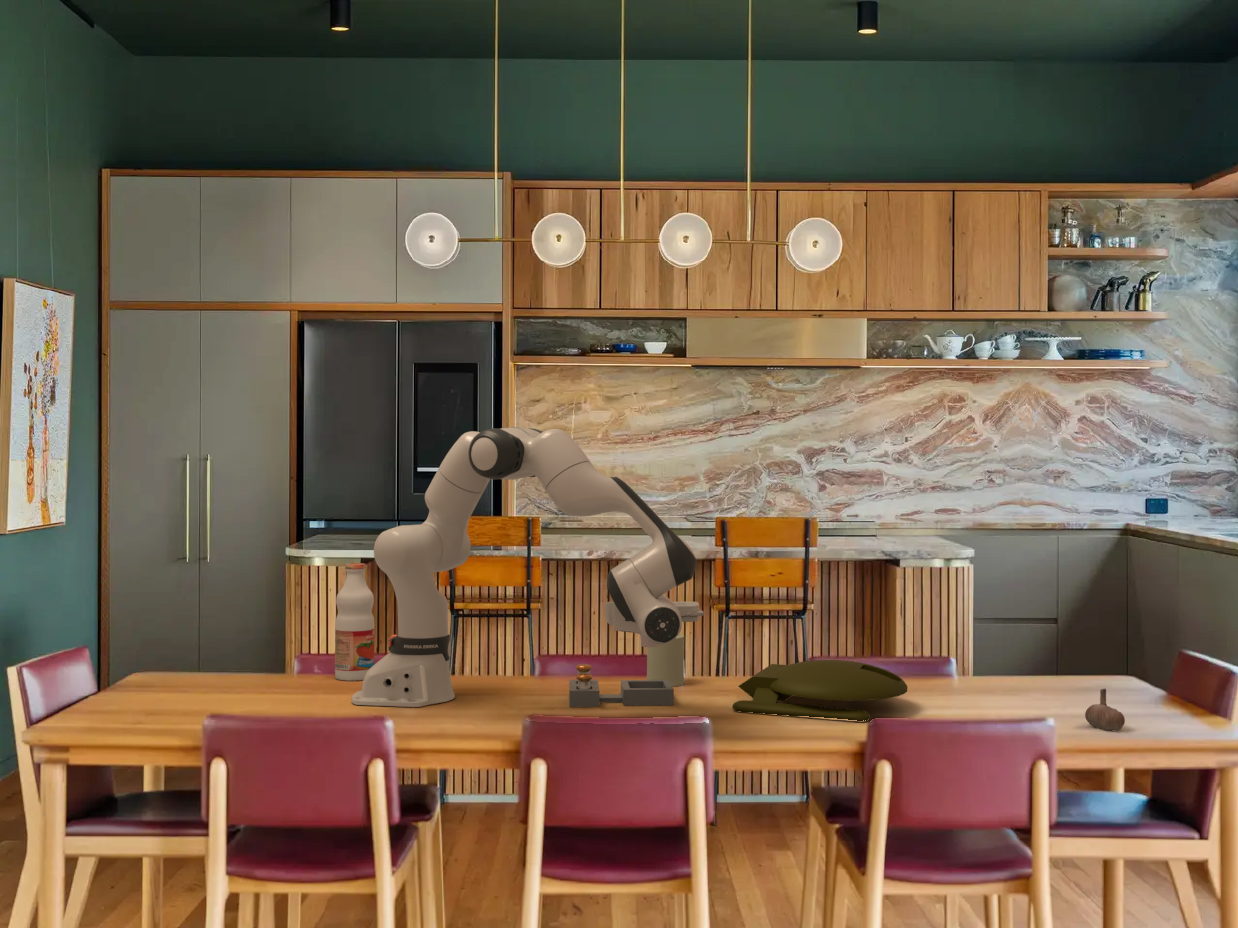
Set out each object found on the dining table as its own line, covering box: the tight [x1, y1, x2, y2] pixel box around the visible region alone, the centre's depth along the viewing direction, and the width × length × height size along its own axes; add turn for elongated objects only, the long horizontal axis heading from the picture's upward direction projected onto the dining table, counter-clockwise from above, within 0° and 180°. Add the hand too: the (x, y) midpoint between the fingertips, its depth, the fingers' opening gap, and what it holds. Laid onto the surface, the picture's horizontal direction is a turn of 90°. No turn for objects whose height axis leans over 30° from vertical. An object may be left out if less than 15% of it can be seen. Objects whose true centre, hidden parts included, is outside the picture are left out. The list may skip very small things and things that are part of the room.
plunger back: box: [575, 663, 592, 674], centre depth 247 cm, size 3×3×6 cm
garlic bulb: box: [1084, 688, 1126, 731], centre depth 220 cm, size 8×7×8 cm
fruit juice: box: [334, 562, 376, 682], centre depth 271 cm, size 9×9×28 cm
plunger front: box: [576, 673, 593, 689], centre depth 241 cm, size 3×3×6 cm
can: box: [646, 633, 685, 688], centre depth 265 cm, size 9×9×12 cm
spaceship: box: [732, 659, 908, 722], centre depth 242 cm, size 35×31×10 cm
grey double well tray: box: [568, 678, 675, 708], centre depth 245 cm, size 23×13×4 cm, turn 93°
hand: (649, 607), depth 240 cm, fingers closed on smoothie, 6 cm apart
